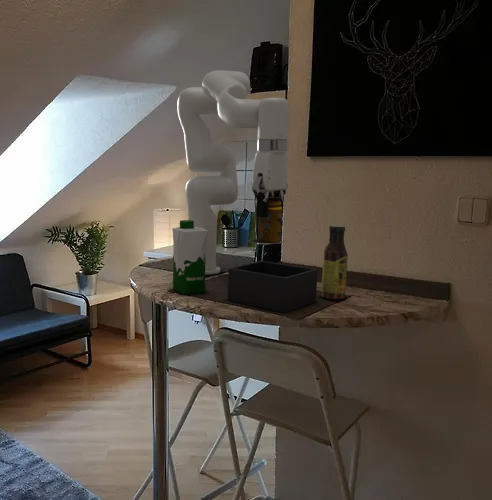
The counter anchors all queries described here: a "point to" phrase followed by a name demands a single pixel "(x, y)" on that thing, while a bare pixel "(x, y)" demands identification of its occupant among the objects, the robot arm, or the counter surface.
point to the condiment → (270, 223)
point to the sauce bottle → (335, 265)
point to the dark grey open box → (272, 285)
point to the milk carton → (189, 258)
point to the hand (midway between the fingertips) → (269, 215)
